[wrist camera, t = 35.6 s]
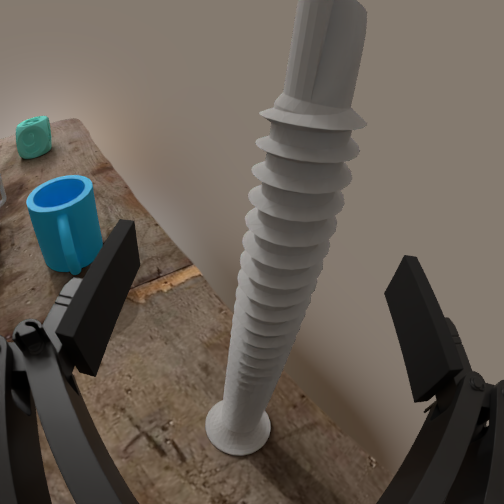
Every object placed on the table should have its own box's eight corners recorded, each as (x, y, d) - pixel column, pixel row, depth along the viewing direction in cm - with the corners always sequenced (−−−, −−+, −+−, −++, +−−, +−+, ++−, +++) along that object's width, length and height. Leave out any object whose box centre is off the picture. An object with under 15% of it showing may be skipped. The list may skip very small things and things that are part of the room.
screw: (186, -47, 4) (270, -8, 7) (194, 439, 20) (221, 389, 23) (467, -5, 2) (424, 26, 6) (256, 465, 19) (278, 412, 22)
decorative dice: (52, 143, 61) (48, 113, 56) (50, 153, 56) (46, 121, 50) (24, 151, 57) (19, 121, 52) (19, 162, 52) (14, 129, 47)
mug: (43, 240, 34) (28, 186, 29) (97, 223, 38) (88, 169, 33) (49, 303, 27) (23, 242, 22) (116, 281, 31) (103, 218, 26)
